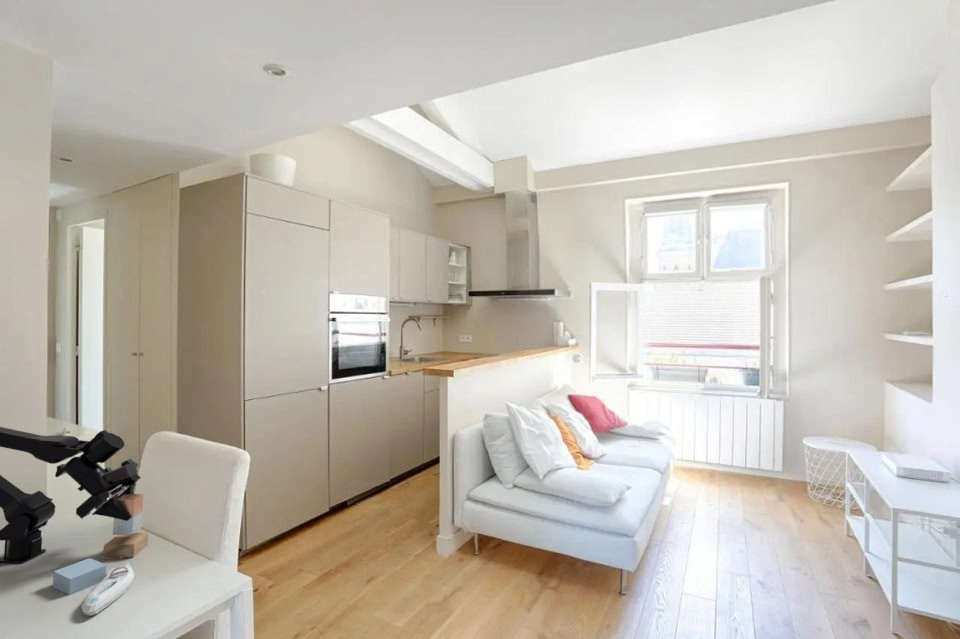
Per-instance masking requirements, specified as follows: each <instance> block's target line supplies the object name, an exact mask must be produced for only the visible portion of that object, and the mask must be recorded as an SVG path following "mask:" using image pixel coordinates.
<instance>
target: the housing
mask: <svg viewBox="0 0 960 639" xmlns="http://www.w3.org/2000/svg"><path fill="white" fill-rule="evenodd" d="M118 502H119V504H120V505H121V506H122V507H123V508H124V509H125V510H126V512H127V513H128V514H129V515H130V517H131V518H130V519H129V520H128V521H125V520H121V519H116V518H113V525H112V526H113V527H112V528H113V529H112V535H113V536H117V535H126V534H133V533H137V531H138V530H140V528H142V521H143V506H144V505H143V504H144V493H134V494H125V495H123V496H121V497H120V498H118Z"/></svg>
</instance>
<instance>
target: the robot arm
mask: <svg viewBox="0 0 960 639" xmlns="http://www.w3.org/2000/svg"><path fill="white" fill-rule="evenodd" d="M124 447H125V441H124V440H123V439H122V437H120V436H119V435H117V434H114V433H113V432H112V433H111V432H108V431H107V430H106V429H103V430H101V431H99V432H98V433H96V435H95V436H94V437H93V438H91V439H90V440H82V439H81V440H80V439H79V438H78V437H76V436H73V435H59V434H58V435H41V434H35V433H32V432H27V431H21V430H17V429H12V428H7V427H3V426H0V448H3V449H5V448H6V449H9V450H15V451H20V452H24V453H27V454H30V455H32V457H34V458H35V459H37V460H40V461H42V462H45V463H47V464H51V465H52V464H58V463H61V464H58V465H56V472H55V475H54V476H55V478H58V477H61V476H64V475H65V474H66V475H68V476H69V477H70V478H71V479H72V480H73V481H75V482H76V483H77V484H78V485H79V487H77V490H78V491H79V492H82V491H84V490H85V492H86V493H88V494H89V497H88V498H87V499H86V500H85V501H83V502H82V503H81V504H80V505H79V506H77V508H75V511H76V512H75V515H76V516H78V517H79V518H80V519H81V520H82V519H83V518H85V517H87V516H89V515H90V514H91V512H92V511H93V510H95V511H94V512H93V513H92V514H91V515H92V516H94V515H97V516H102V517H108V518H113V519H114V518H116V519H121V520H125V521H128V520H129V519H130V518H131V517H130V515H129V514H128V513H127V512H126V510H125V509H124V508H123V507H122V506H121V505H120V504H119V502H118V498H120V497H121V496H123V495H125V494H135V493H134V490H135V487H136V485H137V484H136V483H137V482H138V481H139V480H141V476H140V475H139V474H137V473H138V469H137V467H138V466H139V464H138V463H137V462H135V461H134V460H132V458H129V459H126V460H124V461H122V462H121V465H120V466H119V467H117V468H115V469H112V468H111V467H108V466H107V467H102V466H101V464H104V463H107V461H109V459H111V458H112V457H113V456H115V455H116V454H117V453H119V451H120V450H122V449H123V448H124ZM81 453H82V454H81ZM76 455H80V456H76ZM70 458H71V459H70ZM68 459H69V460H68ZM66 460H68V461H67V462H65V463H62V462H63V461H66ZM53 499H54V498H50V497H48V496H46V495H45V493H44V492H42V491H41V490H37V491H36V492H33V493H27V492H25V491H23V490H21V489H20V488H19V487H17V486H16V485H15V484H13V483H12V482H11V481H9V480H8V479H7V478H5V477H3V476H2V475H1V474H0V508H1V510H2V512H3V515H4V520H5V521H6V522H7V523H8V524H6V525H5V526H4V527H2V528H1V529H0V541H4V551H3V552H4V553H3V557H0V563H4V564H5V563H6V564H9V563H10V564H23V563H25V562H27V561H29V560H31V559H34V558H36V557H38V556H39V555H42V554H43V553H45V552H46V550H47V549H46V548H42V544H43V537H42V530H41V528H43V527H45V526H46V525H47V524H48V522H49V520H51V519H52V518H53V516H54V515H55V514H56V513H55V512H56V505H55V503H54V502H53V501H54V500H53Z"/></svg>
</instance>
